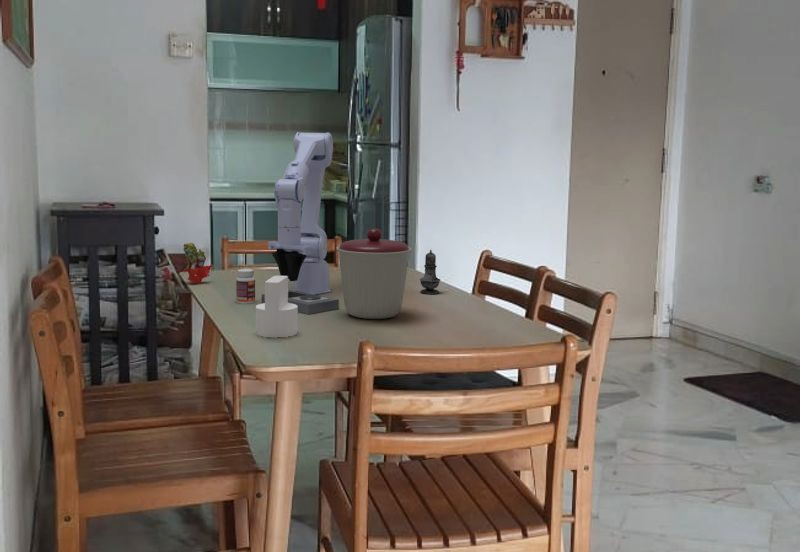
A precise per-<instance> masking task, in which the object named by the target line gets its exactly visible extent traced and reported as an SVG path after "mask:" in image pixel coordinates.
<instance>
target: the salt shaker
mask: <svg viewBox="0 0 800 552" xmlns="http://www.w3.org/2000/svg"><path fill="white" fill-rule="evenodd" d="M432 251H433V250H432V249H430V250H429V252H428V253H426V254H425V257H424V258H425V264H424V265H423V267H424V275H423V277H420V278H419V281H420V285H421V287H422V288H424V289H421V290H420V292H419V293H422V294H427V295H431V294H432V295H436V294H439V293H440V291H439V290H438V289H436V288H438V287H439V285H440V282H441V279H440V278H438V277H437V273H436V270H437V267H438V265H436V264H437V263H436V261H437V259H436V258H437V257H436V256H437V255H436V254H435V253H433V252H432Z"/></svg>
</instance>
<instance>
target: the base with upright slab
mask: <svg viewBox="0 0 800 552" xmlns="http://www.w3.org/2000/svg"><path fill="white" fill-rule="evenodd" d="M288 290H289V279H288V276H281V275H273V276H272V277H270V278H269V279H267V280H266V281H265V282H264V294H265V303H263V304H262V303H259V304H256V305H255V334H257V335H256V336H258V335H260V336H259V337H261V336H264V337H263V338H266V337H286V338H289V337H288V336H292V335H295V334H297V335H298V333H297V332H299V331H298V323H299V321H298V320H299V319H298V317H299V316H298V315H299V314H298V313H299V312H298V306H297V305H295V304H292V303H288ZM295 336H296V335H295ZM292 337H293V336H292Z"/></svg>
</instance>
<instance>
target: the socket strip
mask: <svg viewBox="0 0 800 552" xmlns="http://www.w3.org/2000/svg"><path fill="white" fill-rule="evenodd" d="M339 300H340V299H339V298H333V297H329V296H324V295H320V294H310V293H305V292H300V291H296V290H293V289H288V303H292V304H295V305H297V306H298V313H301V314H306V315H314V314H317V313H323V312H324V313H325V312H328V311H335V310H339V309H340V307H339V306H340V303H339V302H340V301H339ZM263 303H265V293H262V294H261V304H263Z"/></svg>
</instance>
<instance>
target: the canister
mask: <svg viewBox="0 0 800 552" xmlns="http://www.w3.org/2000/svg"><path fill="white" fill-rule="evenodd" d="M382 235H383V233H382V231H381V230H380V229H379V228H369V229H368V230H367V232H366V237H367V238H360V239H350V240H347V241H344V242H342V243H341V244H340V245H337V246H336V248H335V250H336V251H337V252H338V256H339V257H338V258H339V267H340V277H341V279H340V280H341V288H342V294H343V295H342V296H343V304H344V307H345V310H346V312H347V313H348V314H349V315H351V316H352V317H355V318H358V319H359V318H360V319H366V320H381V319H382V320H383V319H384V320H385V319H389V318H393V317H395V316H397V315H398V314H399V312H401V309H402V306H403V301H404V300H403V299H404V295H405V294H404V293H405V286H406V280H407V271H408V264H409V256H410V253H411V252H412V251H413V249H412V247H410V246H408V245H407V244H406V243H405V242H402V241H399V240H393V239H387V238H386V239H384V238H382Z"/></svg>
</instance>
